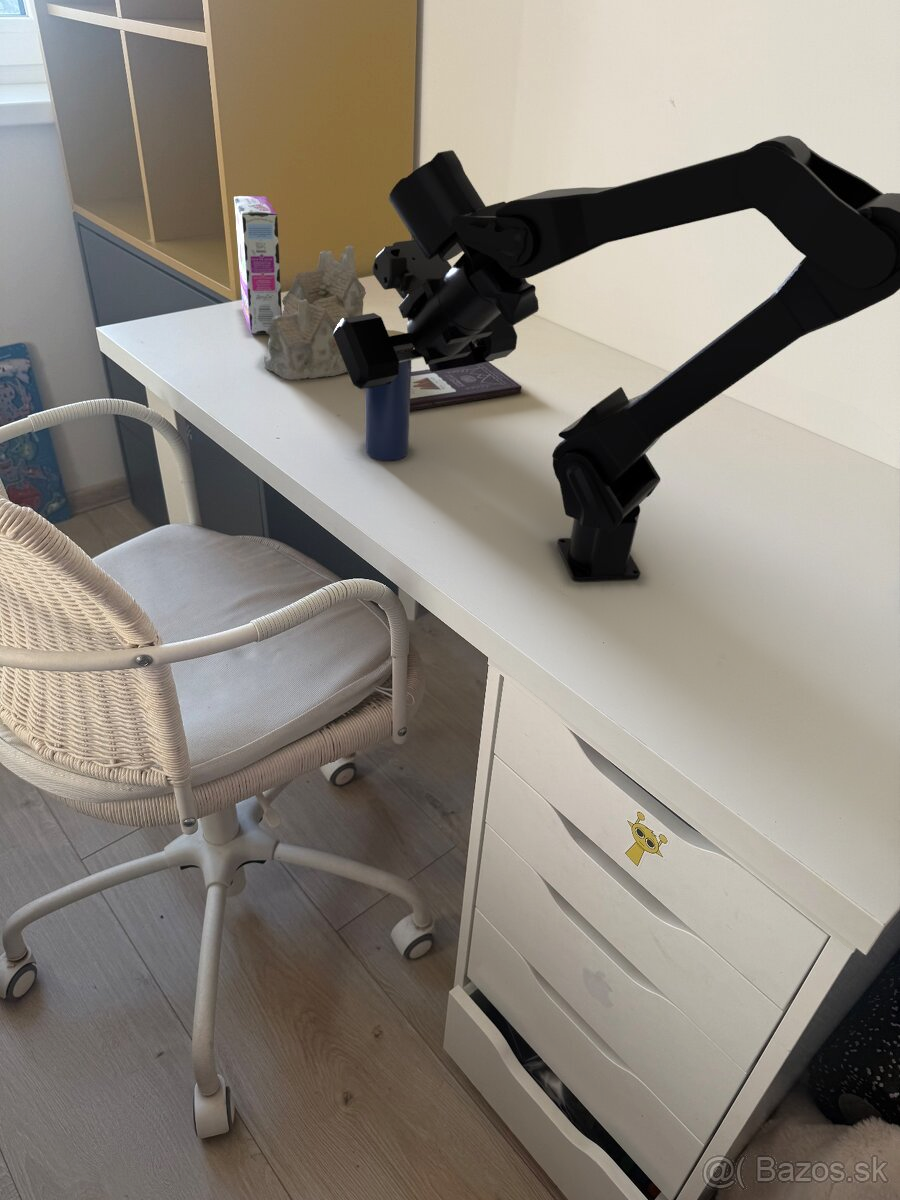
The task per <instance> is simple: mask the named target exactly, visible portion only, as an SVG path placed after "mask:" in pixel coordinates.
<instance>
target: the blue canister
mask: <svg viewBox="0 0 900 1200" xmlns="http://www.w3.org/2000/svg"><path fill="white" fill-rule="evenodd" d="M386 330H387V332H388V335H389V336H394V335H399V334H404V333H405V332H403V331H400V330H392V329H386ZM410 350H411V349H410ZM396 353H397V352H396ZM411 372H412V360H409V361H404V362H399V375H398V376H397V377H396V378H395V379H394V380H392V381H391V384H387V385H383V386H378V387H374V388H369V389H366V388H365V452H366V454H367V456H369V457H370V458H372V459H375V460H378V461H383V462H394V461H398V460H399V461H400V460H401V459H404V458H405V457H406V456H407V455H408V454H409V441H410V440H409V439H410V387H411Z"/></svg>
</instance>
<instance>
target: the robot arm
mask: <svg viewBox="0 0 900 1200" xmlns="http://www.w3.org/2000/svg"><path fill="white" fill-rule="evenodd" d="M388 201H389V203H390V204H391V206H392V207H393V209H394V211H395V212H396V214H397V216H398V217H399V218H400V220H401V221H402V223H403V225H404V226H405V228H406V229H407V231H408V233H409V234H410V235H411V237H412V239H410V240H402V241H401V240H400V241H396V242H394V243H392V245H387V246H384V247H383V249H382V250H381V251H380V252H379V253H377V254H376V256H375V258H374V260H373V261H374V262H373V265H372V274H373V276H374V277H375V279H376V280H377V282H378V283H379V284H380V286H381V287H382V288H383V290H394V289H395V290H396V292H397V293H398V295H399V296H400V297H401V299H403V300H402V301H401V302H400V304H399V305H398V309H399V312H400V315H401V317H402V319H407V321H408V322H407V324H406V331H407V332H404V334H399V335H394V336H389V335H388V332H387V330H388V329H387V328H386V325H385V322H384V320H383V317H382V316H380V315H378V313H377V314H376V313H375V312H371V313H364V314H363V315H359V316H353V317H347V318H343V319H342V320H341V321H340V323H339V324H338V325H337V327H336V328H335V331H334V333H333V336H334V339H335V341H336V344H337V346H338V349H339V351H340V354H341V356H342V359H343V361H344V364H345V366H346V368H347V371H348V372H347V373H348V376H349V378H350V381H351V383H352V386H354V387H356V388H357V389H359V390H364V389H365V390H366V389H369V388H374V387H378V386H383V385H387V384H391V381H392V380H394V379H395V378H396V377H397V376H398V375H399V362H404V361H409V360H411V361H413V360H418V359H423V361H424V363H425V366H426V365H427V366H428V369H430V371H431V372H435V371H441V370H447V369H452V368H458V367H465V366H470V365H476V364H481V363H485V362H493V361H496V360H499V359H503V358H506V357H508V356H509V355H510V354H511V353H513V352H514V351H515V350H516V349H517V343H518V333H517V331H516V329H515V325H517V324H518V323H521V322H523V321H524V320H526V319H527V318H529V317H531V316H533V315H534V314H536V313H538V312H539V310H540V307H539V299H538V297H537V295H536V290H537V289H536V286H535V285H534V284H532V283H529V281H527V279H529V278H532V277H535V276H537V275H539V274H542V273H543V272H546V271H548V270H551V269H552V268H555V267H557V266H560V265H562V264H565V263H567V262H569V261H571V260H573V259H575V258H577V257H580V256H582V255H584V254H587V253H589V252H591V251H593V250H595V249H597V248H600V247H601V246H604V245H606V244H608V243H612V242H616V241H620V240H624V239H629V238H633V237H637V236H641V235H645V234H649V233H655V232H658V231H662V230H666V229H670V228H675V227H679V226H683V225H687V224H692V223H696V222H701V221H705V220H708V219H712V218H717V217H720V216H726V215H729V214H735V213H739V212H742V211H746V210H751V209H755V211H758V212H759V213H760V214H761V215H763V216H764V217H765V218H767V219H768V220H769V222H771V224H772V225H773V226H774V227H775V228H776V229H777V230H778V231H779V232H780V233H781V234H782V236H784V238H785V239H786V240H787V241H788V242H789V243H790V244H791V245H792V246H793V248H795V249H796V250H797V251H798V252H799V253H801V254H802V255H804V258H803V259H801V261H800V262H799V263H798V264H797V265H796V267H794V269H793V270H792V271H791V272H790V273H789V275H788V276H787V277H786V278H785V279H784V280H783V282H781V284H780V285H779V286H778V287H777V288H776V290H775V291H774V292H773V293H772V294H771V295H770V296H769V297H768V298H767V299H765V300H764V301H763V302H761V303H760V304H759V305H757V306H755V308H754V309H752V310H751V311H749V312H748V313H747V314H745V315H744V316H743V317H742V318H741V319H739V320H738V321H737V322H735V323H734V324H733V325H731V326H730V327H729V328H727V329H726V330H725V331H723V332H722V333H721V334H720V335H718V336H717V337H715V339H713V340H712V341H711V342H709V343H708V344H707V345H705V346H704V347H703V348H702V349H700V350H699V351H698V352H697V353H695V354H694V355H692V356H691V357H690V358H689V359H687V360H686V361H685V362H683V363H682V364H681V365H680V366H678V367H677V368H676V369H675V370H673V371H671V372H670V373H669V374H668V375H667V376H665V377H664V378H663V379H662V380H660V381H658V383H656V384H655V385H653V386H652V387H651V388H650V389H648V390H647V391H645V392H644V393H642V394H640V395H637V396H635V397H632V398H630V399H629V398H628V396H627V394H626V393H625V390H624V388H623V387H622V386H620V387H618V388H616V390H614V391H613V392H611V393H609V394H608V395H607V396H605V397H604V398H603V399H601V400H600V401H598V402H597V403H596V404H595V405H593V406H592V407H590V409H588V410H587V412H586V413H585V414H583V415H582V416H580V417H579V418H577V419H576V420H575V421H574V422H572V423H570V425H568V426H567V427H565V428H564V429H563V430H561V431H560V432H558V435H557V436H558V437H559V438H562V440H561V441H560V442H559V443H558V444H556V446H555V447H554V450H553V452H552V454H551V457H552V468H553V471H554V472H553V473H554V475H555V477H556V479H557V481H558V482H559V488H560V494H561V498H562V504H563V509H564V514H565V516H567V517H569V518H572V519H573V523H572V528H571V534H570V537H563V538H558V539H557V541H556V546H557V548H558V550H559V552H560V554H561V557H562V559H563V561H564V563H565V566H566V568H567V570H568V573H569V574H570V577H571V579H572V580H573V581H576V582H591V581H592V582H593V581H594V582H595V581H616V580H620V581H621V580H638V579H640V578H641V570H640V569H639V567H638V565H637V564H636V562H635V560H634V558H633V556H632V555H631V552H632V548H633V543H634V539H635V535H636V531H637V526H638V522H639V518H640V513H641V507H640V504H641V503H643V502H644V501H645V499H646V498H648V497H649V496H651V495H652V494H653V492H654V490H655V489H656V488H657V487H658V485H659V484H660V482H661V477H660V475H659V474H658V471H657V470H656V468H655V467H654V465H653V463H652V462H651V460H650V458H649V457H648V455H647V452H649V451H650V449H652V448H653V446H654V445H655V444H657V442H658V441H659V440H660V439H661V438H662V437H663V436H664V434H666V433H667V432H669V431H670V430H671V429H673V428H674V427H675V426H677V425H679V424H680V423H681V422H682V421H684V420H685V419H687V418H689V417H690V416H691V415H692V414H694V413H695V412H697V411H698V410H700V409H701V408H702V407H704V406H705V405H707V404H708V403H710V402H711V401H712V400H714V399H715V398H716V397H718V396H720V395H721V394H722V393H723V392H725V391H726V390H728V389H729V388H731V387H732V386H733V385H735V384H736V383H738V382H739V381H741V380H742V379H743V378H745V377H746V376H748V375H749V374H750V373H752V372H753V371H755V370H756V369H758V368H759V367H760V366H762V365H763V364H764V363H766V362H767V361H769V360H770V359H772V358H773V357H774V356H776V355H778V354H779V353H780V352H781V351H783V350H785V349H786V348H787V347H789V346H790V345H792V344H793V343H794V342H796V341H798V340H799V339H800V338H802V337H804V336H806V335H808V334H810V333H813V332H816V331H818V330H821V329H823V328H825V327H828V326H831V325H833V324H836V323H838V322H841V321H843V320H846V319H847V318H849V317H852V316H853V315H856V314H858V313H859V312H862V311H864V310H866V309H868V308H870V307H872V306H874V305H876V304H878V303H880V302H882V301H884V300H886V299H888V298H890V297H892V296H893V295H895V294H896V293H897V292H898V291H899V290H900V192H899V193H898V192H897V193H896V192H886V193H883V192H882V191H881V190H879V189H878V188H877V187H875V186H874V185H872V184H871V183H869V182H868V181H866V180H865V179H864V178H862V177H860V176H858V175H857V174H854V173H852V172H850V171H849V170H847V169H845V168H843V167H842V166H839V165H838V164H836V163H833V162H832V161H830V160H828V159H826V158H824V157H823V156H822V155H820V154H818V153H817V152H815V150H813V149H811V148H810V147H808V145H807V144H806V143H805V142H804V141H803V140H802V139H800V138H799V137H796V136H793V135H779V136H776V137H773V138H770V139H767V140H764V141H761V142H758V143H756V144H755V145H753V146H751V147H749V148H747V149H744V150H740V151H737V152H734V153H730V154H726V155H723V156H719V157H715V158H713V159H712V158H711V159H708V160H705V161H702V162H698V163H695V164H691V165H687V166H683V167H680V168H677V169H674V170H670V171H666V172H663V173H659V174H656V175H651V176H648V177H644V178H642V179H637V180H634V181H631V182H627V183H623V184H620V185H617V186H605V187H590V186H589V187H587V186H586V187H571V188H570V187H569V188H556V189H555V188H554V189H548V190H544V191H539V192H537V193H533V194H531V195H527V196H524V197H520V198H517V199H513V200H510V201H507V202H506V201H500V202H496V203H493V204H490V205H487V206H486V204H485V203H484V201H483V199H482V198H481V196H480V194H479V193H478V192H477V190H476V188H475V187H474V185H473V184H472V181H471V180H470V179H469V177H468V175H467V174H466V172H465V170H464V168H463V165H462V162H461V160H460V159H459V157H458V155H457V154H456V152H455V151H454V150H453V149H449V150H444V151H439V152H437V153H436V154H435V155H434V156H433V158H431V160H429V161H427V162H426V163H424V164H422V165H421V166H419V167H418V168H417V169H415V170H414V171H412V172H411V173H410V174H409V175H408V176H406V177H403V178H401V179H400V180H398V181H397V183H396V184H395V185H394V186H393V187H392V189H391V191H390V193H389V195H388ZM461 253H462V254H461ZM460 254H461V256H460V257H459V258H458V260H456V261H455V263H454V264H453V265H452V264H450V262H449V260H451V259H453V258H455V257H457V256H459V255H460ZM410 349H411V350H410ZM396 352H397V353H396Z"/></svg>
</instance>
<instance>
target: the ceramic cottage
mask: <svg viewBox="0 0 900 1200" xmlns="http://www.w3.org/2000/svg"><path fill="white" fill-rule="evenodd" d="M354 255H355V247H354V246H352V245H347V246H345V248H344V253H341V254H340V258H339V261H338V260H336V259H335V258H334V254H333V252H332V251H330V250H322V251H321V250H320V252H319V256H318V266H317V268H316V269H313V270H308V271H303V272H299V273H296V276H295V278H294V279H293V282H292V283H291V287H290V288H289V289H288V292H287V293H286V294H285V296H283V299H281V303H282V305H283V310H282V315H281V316H276V317H275V319H273V320H272V323H271V325H270V326H269V327H268V329H267V331H266V333H268V334H267V335H269V338H268V342H267V343H268V344H267V349H268V353H267V354H266V355H264V356H263V368H265V369H266V370H267V371H270V372H271V373H275V374H276V376H277V375H278V376H279V377H280V378H281V379H284V380H291V381H293V380H297V381H298V380H301V379H305V380H306V379H307V378H308V379H317V378H322V377H323V378H324V377H326V378H327V377H335V376H339V375H341V374H345V373H348V371H347V368H346V366H345V364H344V361H343V359H342V356H341V354H340V351H339V349H338V346H337V344H336V341H335V339H334V336H333V333H334V331H335V328H336V327H337V325H338V324H339V323H340V321H341V320H342V319H343V318H347V317H353V316H359V315H364V313H363V312H364V299H365V296H366V294H367V292H366V288H365V286H364V285H363V284H362V283H361V281H360V279H359V278H358V276H357V270H356V261H355V257H354Z"/></svg>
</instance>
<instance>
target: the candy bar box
mask: <svg viewBox="0 0 900 1200" xmlns="http://www.w3.org/2000/svg"><path fill="white" fill-rule="evenodd" d="M233 201H234V211H235V227H236V240H237V241H236V242H237V252H238V254H237V255H238V267H239V281H240V293H241V304H242V312H243V314H244V317H245V320H246V323H247V327H248V329H249V333H250V334H251V335H269V334H268V333H266V331H267V329H268V327H269V326H270V325H271V323H272V320H273V319H275V317H276V316H281V315H282V312H283V309H282V288H281V287H282V286H281V266H280V245H279V224H278V213H277V211H276V210H275V209H274V207H273V206H272V203H271V202H270V200H269V198H268V197H267V196H258V195H257V196H256V195H239V196H236V195H235V196H233Z"/></svg>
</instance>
